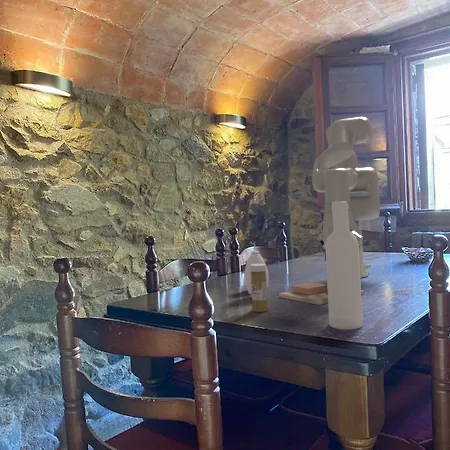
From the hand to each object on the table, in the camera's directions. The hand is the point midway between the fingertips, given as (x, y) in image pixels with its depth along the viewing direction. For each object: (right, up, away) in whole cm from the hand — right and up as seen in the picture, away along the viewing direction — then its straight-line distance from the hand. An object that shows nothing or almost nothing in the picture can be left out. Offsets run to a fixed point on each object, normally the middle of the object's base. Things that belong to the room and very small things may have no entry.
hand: (340, 262), depth 143 cm
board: (-6, -11, +2) cm, 13 cm away
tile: (-6, -9, +6) cm, 12 cm away
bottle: (-8, -13, -34) cm, 37 cm away
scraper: (-4, -10, -4) cm, 12 cm away
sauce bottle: (-26, -12, +6) cm, 29 cm away
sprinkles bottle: (-27, -13, -13) cm, 32 cm away
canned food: (-25, -12, +18) cm, 33 cm away
